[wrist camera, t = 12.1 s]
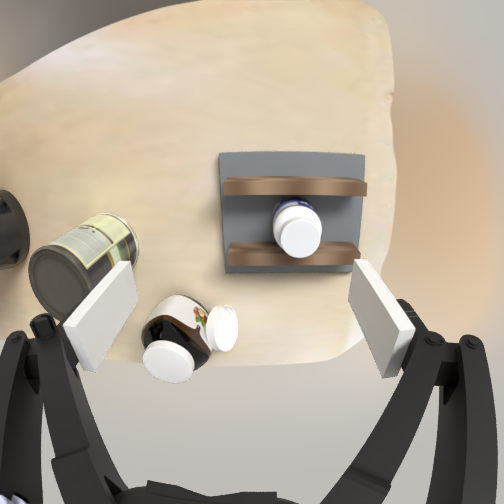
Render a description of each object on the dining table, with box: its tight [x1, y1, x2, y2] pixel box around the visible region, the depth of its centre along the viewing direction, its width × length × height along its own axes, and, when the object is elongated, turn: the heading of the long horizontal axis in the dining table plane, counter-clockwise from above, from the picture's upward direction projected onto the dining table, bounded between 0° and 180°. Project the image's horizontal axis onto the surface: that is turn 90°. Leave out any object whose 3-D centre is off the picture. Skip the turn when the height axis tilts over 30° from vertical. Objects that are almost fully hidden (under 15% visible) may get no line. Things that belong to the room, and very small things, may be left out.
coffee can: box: [28, 212, 139, 321], centre depth 33 cm, size 10×10×14 cm
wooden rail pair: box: [224, 176, 367, 266], centre depth 34 cm, size 16×10×4 cm, turn 91°
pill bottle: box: [272, 196, 322, 258], centre depth 32 cm, size 5×5×9 cm
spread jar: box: [141, 295, 238, 383], centre depth 39 cm, size 12×11×12 cm
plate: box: [219, 151, 365, 273], centre depth 36 cm, size 18×16×1 cm
